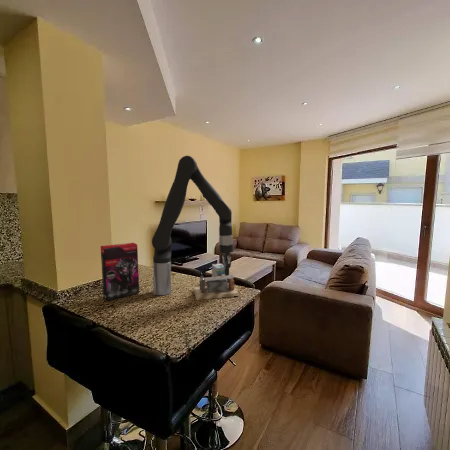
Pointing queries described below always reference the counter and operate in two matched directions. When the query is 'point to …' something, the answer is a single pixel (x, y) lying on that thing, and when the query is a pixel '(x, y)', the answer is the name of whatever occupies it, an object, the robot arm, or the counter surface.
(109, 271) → the graphics card box
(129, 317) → the counter surface
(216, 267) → the light bulb box
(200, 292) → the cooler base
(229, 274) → the strap
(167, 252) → the robot arm
